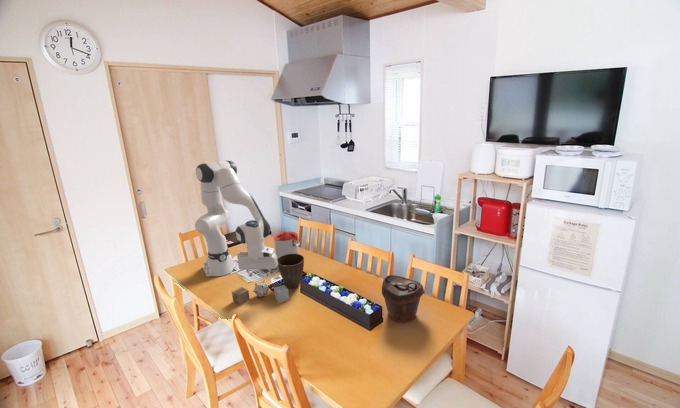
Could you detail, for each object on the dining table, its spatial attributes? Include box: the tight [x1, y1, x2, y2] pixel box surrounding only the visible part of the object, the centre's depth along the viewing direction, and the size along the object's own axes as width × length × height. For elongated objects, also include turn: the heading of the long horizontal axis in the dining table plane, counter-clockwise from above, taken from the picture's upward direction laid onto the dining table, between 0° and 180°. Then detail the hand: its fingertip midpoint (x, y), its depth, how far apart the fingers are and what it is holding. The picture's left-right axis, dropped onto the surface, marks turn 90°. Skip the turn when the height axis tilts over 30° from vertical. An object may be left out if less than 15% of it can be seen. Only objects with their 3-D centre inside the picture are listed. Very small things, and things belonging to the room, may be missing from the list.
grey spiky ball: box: [252, 281, 271, 300], centre depth 177 cm, size 9×8×10 cm
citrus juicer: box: [272, 231, 301, 259], centre depth 216 cm, size 16×17×20 cm
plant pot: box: [277, 253, 305, 289], centre depth 185 cm, size 15×15×16 cm
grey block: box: [273, 284, 290, 304], centre depth 174 cm, size 6×6×6 cm
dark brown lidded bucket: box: [381, 274, 425, 323], centre depth 154 cm, size 18×20×18 cm
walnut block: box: [231, 286, 251, 306], centre depth 174 cm, size 6×6×6 cm
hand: (259, 275), depth 175 cm, fingers open, 8 cm apart
